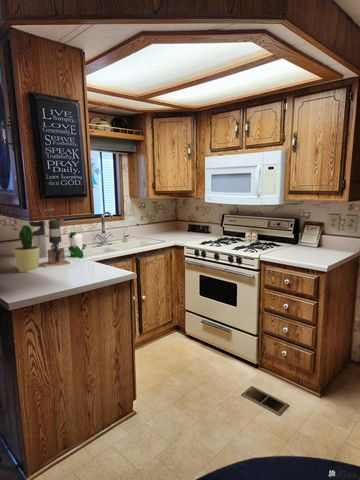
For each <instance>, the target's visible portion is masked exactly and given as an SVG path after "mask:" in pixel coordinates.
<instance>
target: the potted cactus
mask: <svg viewBox="0 0 360 480" xmlns="http://www.w3.org/2000/svg"><path fill="white" fill-rule="evenodd" d="M32 232H33V228H32V226H30V225H28V224H26V225H25V224H23V225H22V226H21V228H20V230H19V233H18V238H19V241H20V243H21V246H18V247H15V248H13V254H14V257H15V261H16V264H17V270H18V272H19V273H27V271H28V272H29V271H34V270H37V269H39V264H40V258H39V251H40V247H39V246H33V243H34V242H33V235H32ZM33 234H34V233H33Z"/></svg>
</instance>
